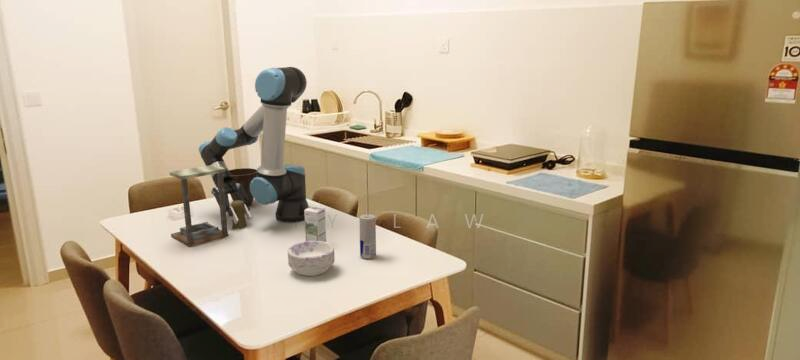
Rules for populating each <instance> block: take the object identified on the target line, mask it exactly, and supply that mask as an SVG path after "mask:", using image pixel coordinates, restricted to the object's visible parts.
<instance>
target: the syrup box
mask: <svg viewBox="0 0 800 360" xmlns="http://www.w3.org/2000/svg"><path fill="white" fill-rule="evenodd" d="M304 215H305V221H304V229H305V230H304V231H305V241H323V242H327V228H326V227H327V226H326V225H327V224H326V208H325V207H320V206H314V205H313V206H309V208H307V209H305V210H304Z"/></svg>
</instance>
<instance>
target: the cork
mask: <svg viewBox="0 0 800 360" xmlns="http://www.w3.org/2000/svg"><path fill="white" fill-rule="evenodd" d="M230 207H232V208H233V210H234V212H235V214H236V216H237V218H238V220H239V221H238V222H237V224H235V223H234V221H233V219H232V218H231V219H232V220H231V228H232V229H235V230H242V229H246V228H248V224H247V218H246V216H245V214H244V210H243V208H244V202H243V201H241V200H236V201H233V200H232V201H231V203H230Z"/></svg>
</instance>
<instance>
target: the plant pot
mask: <svg viewBox="0 0 800 360" xmlns="http://www.w3.org/2000/svg"><path fill="white" fill-rule="evenodd" d="M228 170H229V172H230V174H231V176H232V178H233V181H234V182H236V183H239V184H240V182H242V183H243V188H244V190H245V192H246V193H247V195H248V197H249V199H250V202H249V204H248V207H250V206H252V205H253V201H254V200H255V199H254V197H253V196H252V194H251V192H250V183H251V181H252V180H253V179H254V178H256V174H257V168H256V169H255V168H245V167H244V168H243V167H242V168H241V167H240V168H234V169H228ZM235 188H236V189H237V187H235ZM237 191H238V192H239V190H238V189H237ZM239 194H240V192H239ZM229 195H230V197H231V200H232V202H233V201H236V200H237V199H236V198H235V197H234V196H233V195H232V194H229ZM240 195H241V194H240Z"/></svg>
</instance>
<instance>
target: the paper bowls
mask: <svg viewBox="0 0 800 360" xmlns="http://www.w3.org/2000/svg"><path fill="white" fill-rule="evenodd" d="M335 259H336V257H335V247H334V245H333V244H331V243H329V242H327V241H326V242H323V241H306V240H305V241H300V242H296V243H295V244H292V245H291V246H290V247H289V248H288V250H287V265H288V266H289V267H290V268H291V269H292V270H295V271H296V273H297V274H299V275H301V276H306V277H313V276H319V275H322V274H324V273H326V271H328V269H329V268H330V267H331V266H332V265H334V263H335Z"/></svg>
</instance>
